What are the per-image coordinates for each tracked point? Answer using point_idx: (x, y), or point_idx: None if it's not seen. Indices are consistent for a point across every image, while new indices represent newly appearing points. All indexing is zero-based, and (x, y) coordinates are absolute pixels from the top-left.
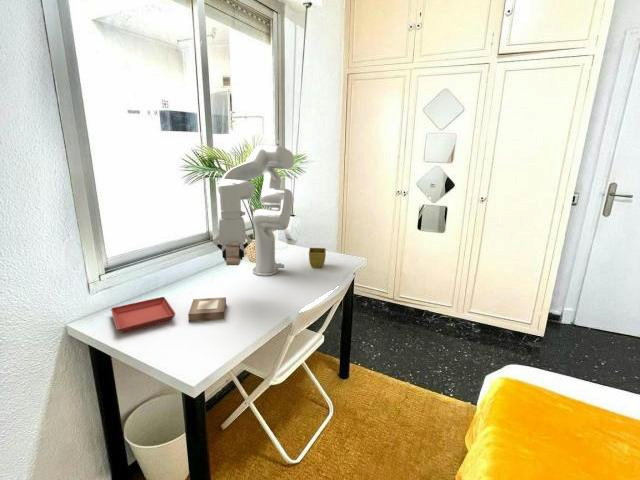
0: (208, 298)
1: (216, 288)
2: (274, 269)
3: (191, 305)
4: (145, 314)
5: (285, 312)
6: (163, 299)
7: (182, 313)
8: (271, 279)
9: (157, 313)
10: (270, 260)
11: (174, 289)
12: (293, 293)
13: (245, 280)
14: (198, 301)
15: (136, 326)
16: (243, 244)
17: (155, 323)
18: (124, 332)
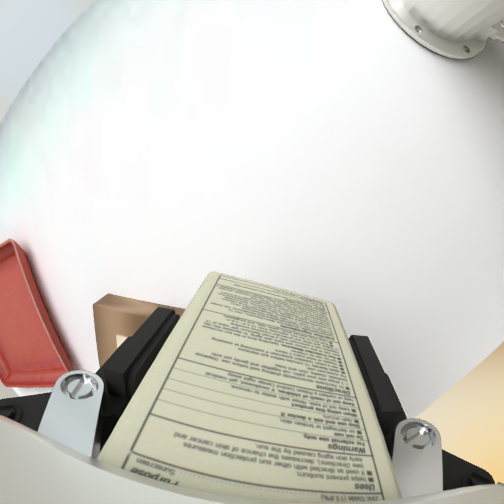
0: (145, 319)
1: (187, 126)
2: (479, 36)
3: (98, 353)
4: (11, 306)
5: (409, 411)
6: (16, 248)
7: (86, 331)
8: (458, 101)
9: (30, 313)
10: (493, 21)
11: (41, 118)
12: (493, 283)
13: (341, 63)
14: (113, 331)
15: (23, 382)
16: (440, 468)
17: (47, 373)
18: (14, 370)
